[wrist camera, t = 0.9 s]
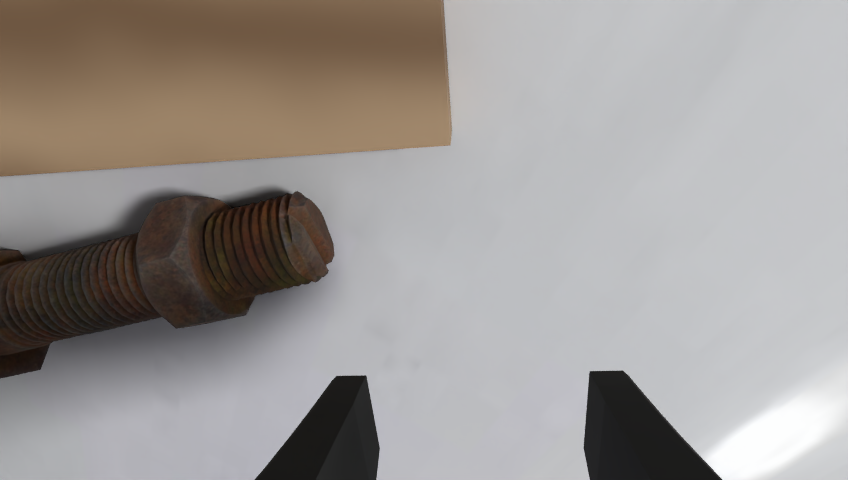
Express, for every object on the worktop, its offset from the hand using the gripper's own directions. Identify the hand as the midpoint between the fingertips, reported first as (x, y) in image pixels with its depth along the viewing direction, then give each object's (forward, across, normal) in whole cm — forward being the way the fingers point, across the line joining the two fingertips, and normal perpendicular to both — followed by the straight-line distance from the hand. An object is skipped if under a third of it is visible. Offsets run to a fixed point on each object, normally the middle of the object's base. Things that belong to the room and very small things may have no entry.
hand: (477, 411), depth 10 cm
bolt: (+10, +13, +1) cm, 16 cm away
